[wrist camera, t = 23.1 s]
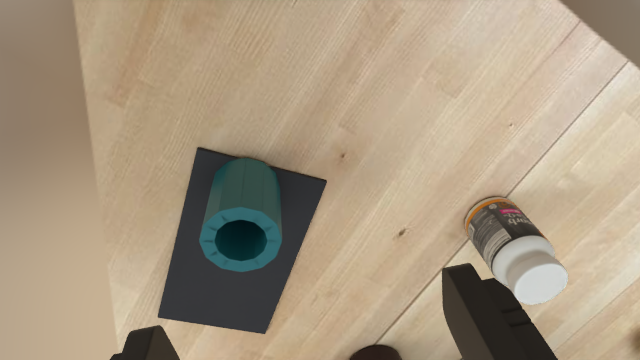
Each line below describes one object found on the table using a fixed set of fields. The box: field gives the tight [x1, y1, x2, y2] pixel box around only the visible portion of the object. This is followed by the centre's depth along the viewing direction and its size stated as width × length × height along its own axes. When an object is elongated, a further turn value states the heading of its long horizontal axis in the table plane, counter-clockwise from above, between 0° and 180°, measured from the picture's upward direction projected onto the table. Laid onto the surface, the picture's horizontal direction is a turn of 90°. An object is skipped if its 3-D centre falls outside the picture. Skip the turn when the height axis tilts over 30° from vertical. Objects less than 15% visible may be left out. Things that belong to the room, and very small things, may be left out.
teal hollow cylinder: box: [199, 158, 282, 272], centre depth 35 cm, size 6×6×8 cm
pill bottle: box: [465, 197, 568, 305], centre depth 40 cm, size 6×6×10 cm
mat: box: [158, 147, 327, 334], centre depth 42 cm, size 12×21×1 cm, turn 160°
